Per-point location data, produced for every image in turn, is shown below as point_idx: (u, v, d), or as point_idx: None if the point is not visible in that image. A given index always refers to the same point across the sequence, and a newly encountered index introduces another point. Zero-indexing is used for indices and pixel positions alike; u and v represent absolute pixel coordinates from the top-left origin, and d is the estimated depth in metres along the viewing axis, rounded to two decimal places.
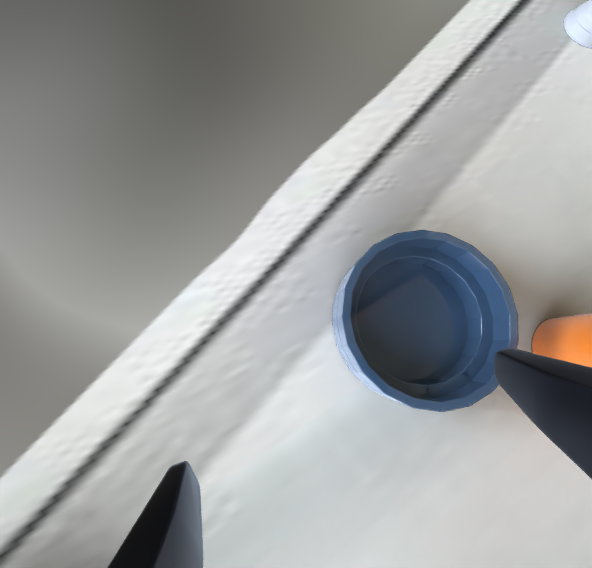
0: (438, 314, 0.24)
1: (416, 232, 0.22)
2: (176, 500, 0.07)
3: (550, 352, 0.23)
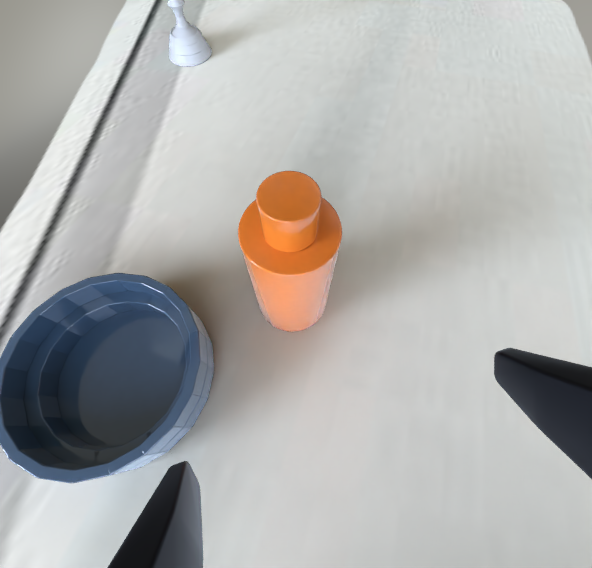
0: (154, 347, 0.22)
1: (55, 296, 0.20)
2: (176, 500, 0.07)
3: (263, 312, 0.22)
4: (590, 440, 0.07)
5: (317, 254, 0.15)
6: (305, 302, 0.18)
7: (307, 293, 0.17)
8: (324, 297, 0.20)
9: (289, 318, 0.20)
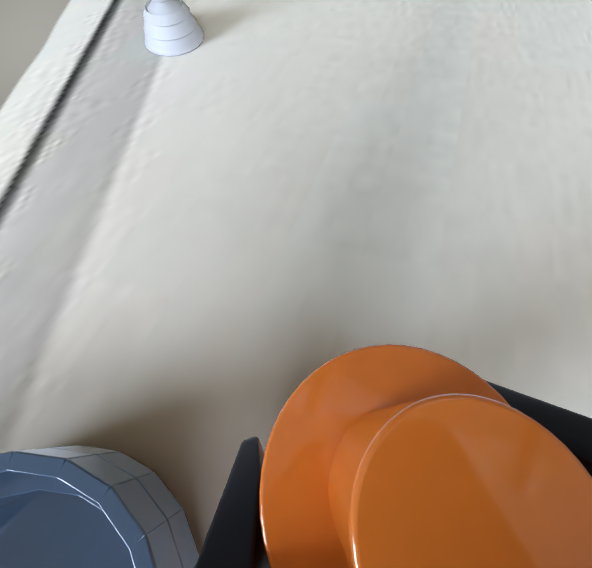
0: (94, 567, 0.12)
1: None
2: (259, 470, 0.07)
3: None
4: None
5: None
6: None
7: None
8: None
9: None
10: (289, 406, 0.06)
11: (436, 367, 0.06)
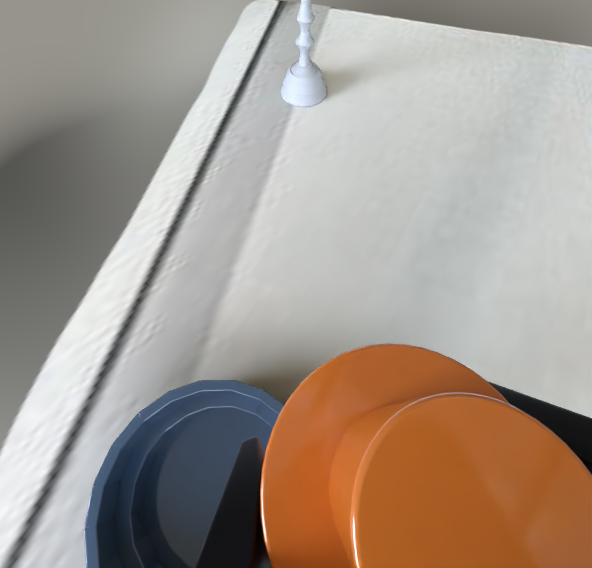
0: None
1: (162, 399, 0.18)
2: (259, 470, 0.07)
3: None
4: None
5: None
6: None
7: None
8: None
9: None
10: (290, 405, 0.06)
11: (437, 366, 0.06)
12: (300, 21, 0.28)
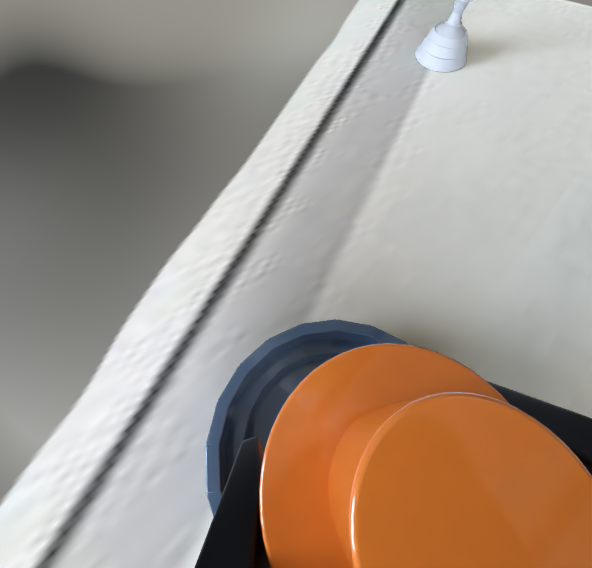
0: None
1: (294, 330, 0.16)
2: (259, 470, 0.07)
3: None
4: None
5: None
6: None
7: None
8: None
9: None
10: (289, 405, 0.06)
11: (436, 366, 0.06)
12: None
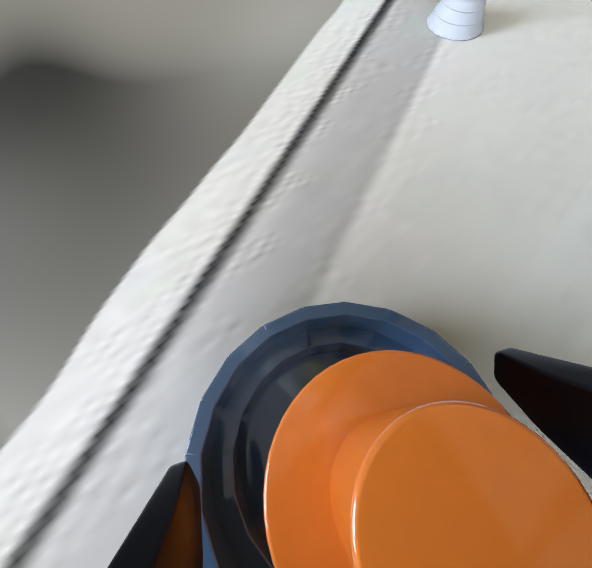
0: None
1: (295, 314, 0.13)
2: (176, 500, 0.07)
3: None
4: (590, 440, 0.07)
5: None
6: None
7: None
8: None
9: None
10: (291, 411, 0.06)
11: (434, 372, 0.07)
12: None
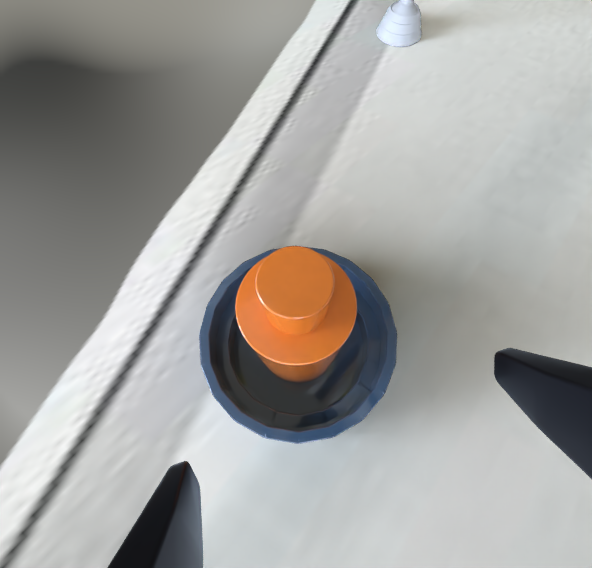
0: None
1: (264, 254, 0.21)
2: (176, 500, 0.07)
3: None
4: (590, 440, 0.07)
5: (329, 335, 0.13)
6: (315, 371, 0.16)
7: (318, 367, 0.15)
8: None
9: (297, 379, 0.18)
10: (247, 274, 0.14)
11: None
12: None
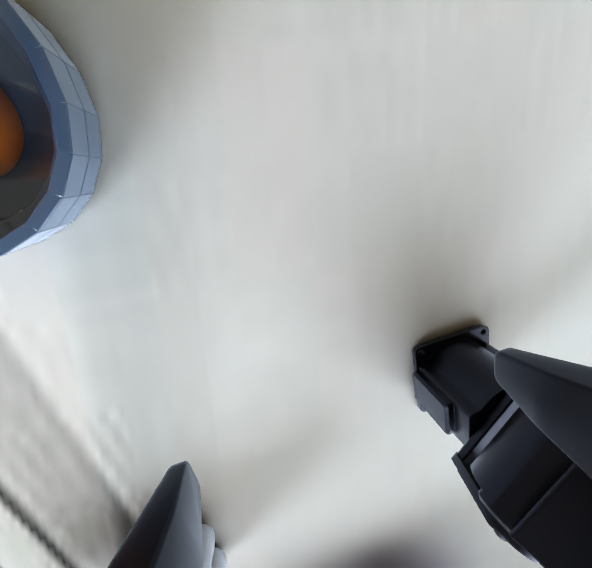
0: None
1: None
2: (176, 500, 0.07)
3: None
4: (590, 440, 0.07)
5: None
6: None
7: None
8: None
9: None
10: None
11: None
12: None
